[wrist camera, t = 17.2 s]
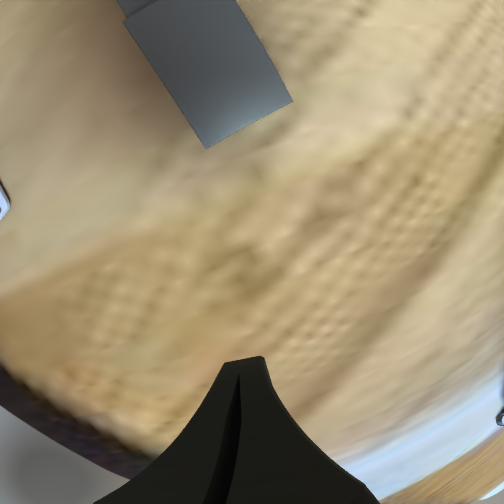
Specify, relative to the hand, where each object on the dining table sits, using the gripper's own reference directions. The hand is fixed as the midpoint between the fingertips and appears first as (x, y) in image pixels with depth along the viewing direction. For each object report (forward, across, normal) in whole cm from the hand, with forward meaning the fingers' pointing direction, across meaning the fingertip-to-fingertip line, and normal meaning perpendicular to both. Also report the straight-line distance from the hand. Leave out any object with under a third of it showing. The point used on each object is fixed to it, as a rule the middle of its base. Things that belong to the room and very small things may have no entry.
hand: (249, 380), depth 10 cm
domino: (+9, -2, -9) cm, 12 cm away
